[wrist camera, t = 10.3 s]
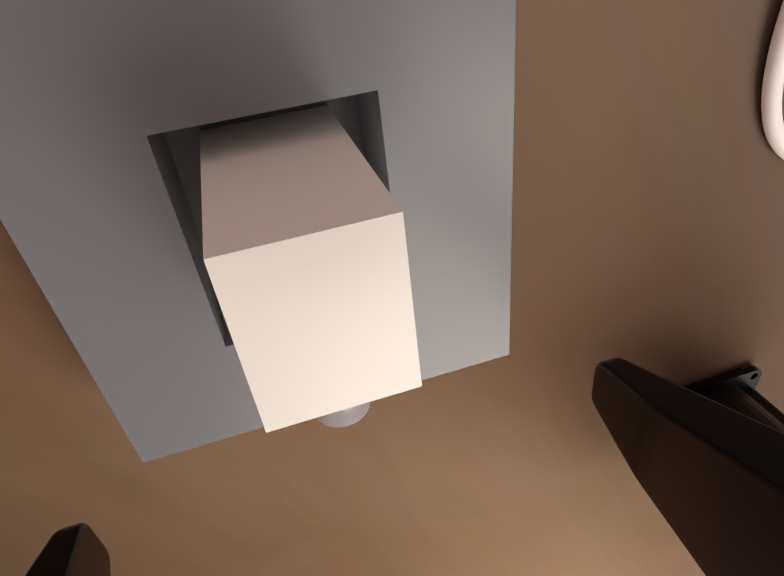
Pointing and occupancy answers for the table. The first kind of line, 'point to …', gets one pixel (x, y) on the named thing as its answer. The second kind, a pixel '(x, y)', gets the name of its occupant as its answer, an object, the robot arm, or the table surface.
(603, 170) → the table surface
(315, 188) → the plug
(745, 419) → the robot arm
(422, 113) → the socket block
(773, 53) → the earphone
